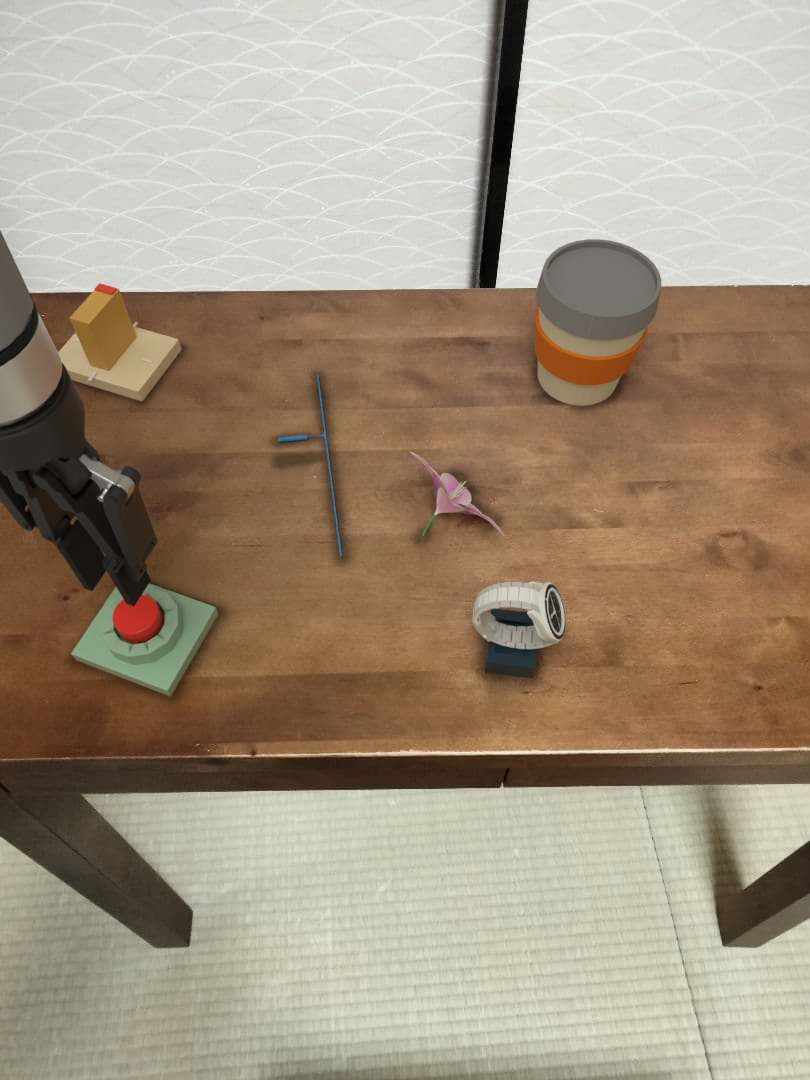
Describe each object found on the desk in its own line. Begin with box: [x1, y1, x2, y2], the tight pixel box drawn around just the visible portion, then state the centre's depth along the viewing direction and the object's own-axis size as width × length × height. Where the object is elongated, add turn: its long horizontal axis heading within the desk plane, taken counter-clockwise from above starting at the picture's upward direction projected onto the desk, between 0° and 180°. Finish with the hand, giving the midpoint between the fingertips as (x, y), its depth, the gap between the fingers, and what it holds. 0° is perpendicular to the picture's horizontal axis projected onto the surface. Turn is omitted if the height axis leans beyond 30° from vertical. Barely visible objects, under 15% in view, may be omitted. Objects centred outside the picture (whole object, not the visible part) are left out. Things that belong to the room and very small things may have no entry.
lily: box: [409, 451, 506, 538], centre depth 81 cm, size 12×12×10 cm
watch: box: [471, 580, 566, 679], centre depth 72 cm, size 6×8×11 cm
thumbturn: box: [69, 282, 136, 371], centre depth 91 cm, size 6×2×7 cm, turn 159°
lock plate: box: [57, 321, 183, 402], centre depth 95 cm, size 12×10×3 cm
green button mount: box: [70, 583, 219, 697], centre depth 75 cm, size 10×9×4 cm
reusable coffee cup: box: [533, 238, 662, 406], centre depth 89 cm, size 13×12×15 cm
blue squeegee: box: [277, 374, 343, 558], centre depth 88 cm, size 1×25×5 cm
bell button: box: [112, 595, 163, 642], centre depth 73 cm, size 4×4×2 cm
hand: (117, 583), depth 68 cm, fingers open, 3 cm apart
